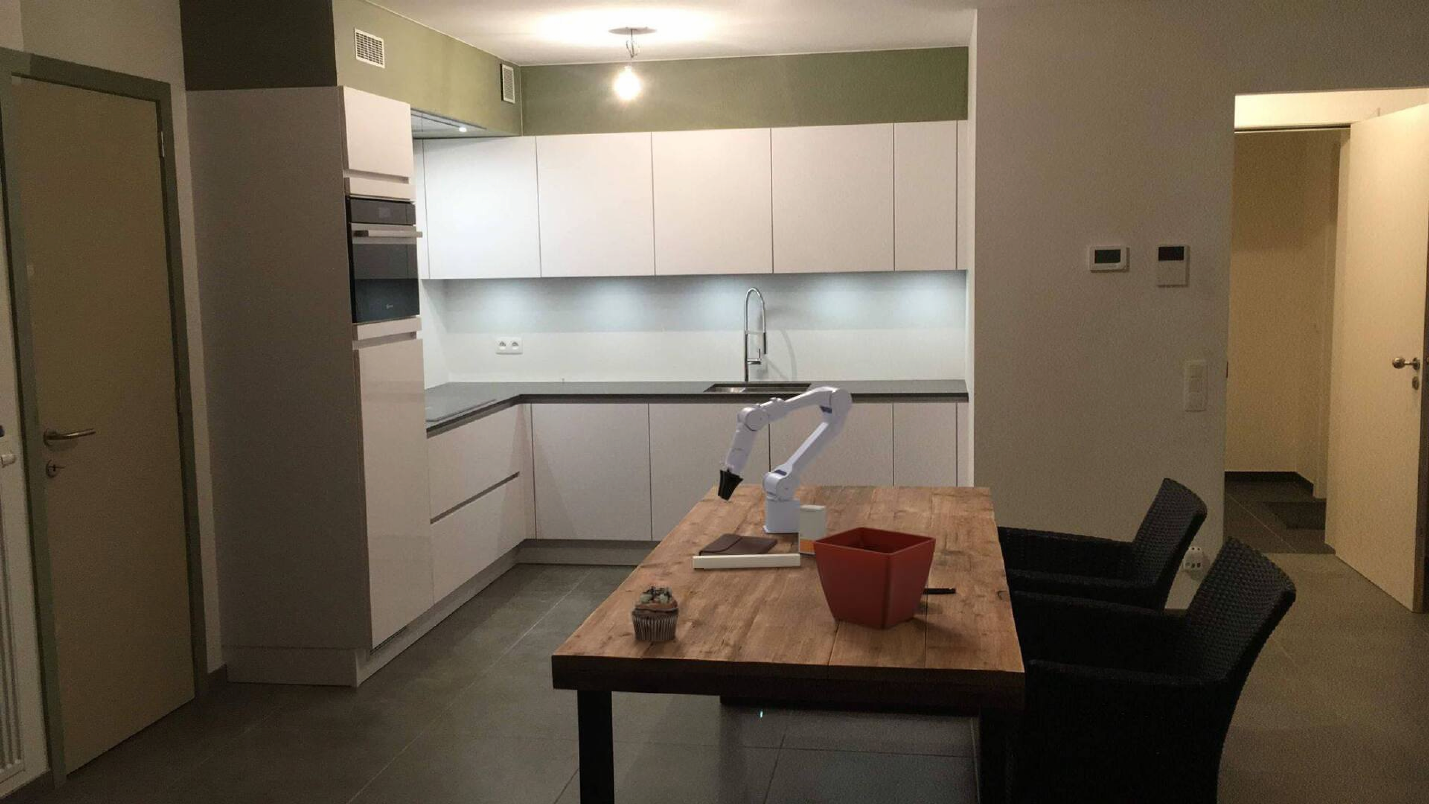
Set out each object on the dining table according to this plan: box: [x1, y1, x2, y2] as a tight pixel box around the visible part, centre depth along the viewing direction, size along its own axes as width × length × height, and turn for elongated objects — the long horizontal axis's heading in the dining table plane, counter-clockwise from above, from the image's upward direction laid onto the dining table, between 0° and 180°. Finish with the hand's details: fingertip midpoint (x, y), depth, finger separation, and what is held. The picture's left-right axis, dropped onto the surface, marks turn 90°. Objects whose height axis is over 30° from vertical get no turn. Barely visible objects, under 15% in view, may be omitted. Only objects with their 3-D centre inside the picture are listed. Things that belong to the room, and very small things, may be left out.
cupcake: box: [630, 585, 680, 643], centre depth 249 cm, size 10×10×10 cm
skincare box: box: [797, 504, 827, 556], centre depth 316 cm, size 6×4×12 cm
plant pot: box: [813, 526, 937, 630], centre depth 260 cm, size 19×19×17 cm
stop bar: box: [692, 553, 801, 569], centre depth 303 cm, size 26×2×3 cm, turn 95°
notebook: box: [698, 533, 778, 556], centre depth 321 cm, size 15×20×2 cm
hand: (722, 498), depth 335 cm, fingers open, 7 cm apart
